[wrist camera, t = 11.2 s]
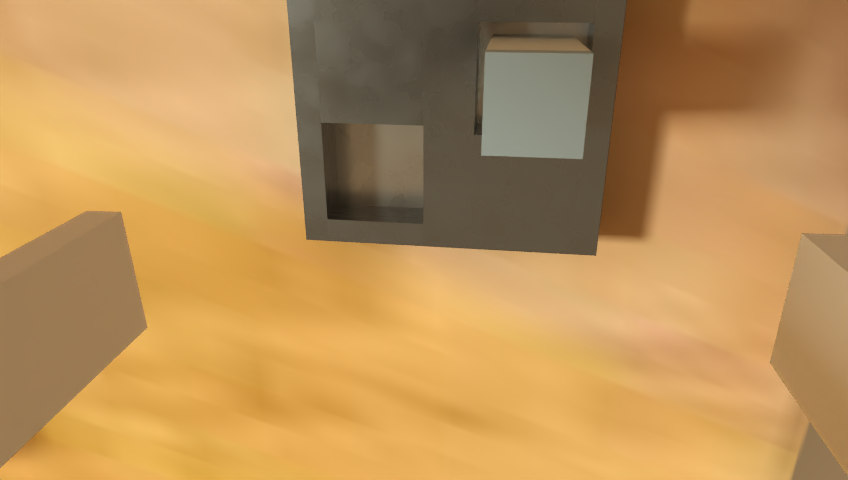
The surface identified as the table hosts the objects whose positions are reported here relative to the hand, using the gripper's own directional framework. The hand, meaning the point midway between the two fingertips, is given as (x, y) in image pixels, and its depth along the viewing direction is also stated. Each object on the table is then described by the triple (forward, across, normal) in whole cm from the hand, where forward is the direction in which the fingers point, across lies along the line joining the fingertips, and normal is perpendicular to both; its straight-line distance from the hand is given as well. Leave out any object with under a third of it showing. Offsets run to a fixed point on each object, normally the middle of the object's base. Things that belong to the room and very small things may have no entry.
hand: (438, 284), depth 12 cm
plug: (+22, +2, +1) cm, 22 cm away
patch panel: (+23, -2, -1) cm, 23 cm away
